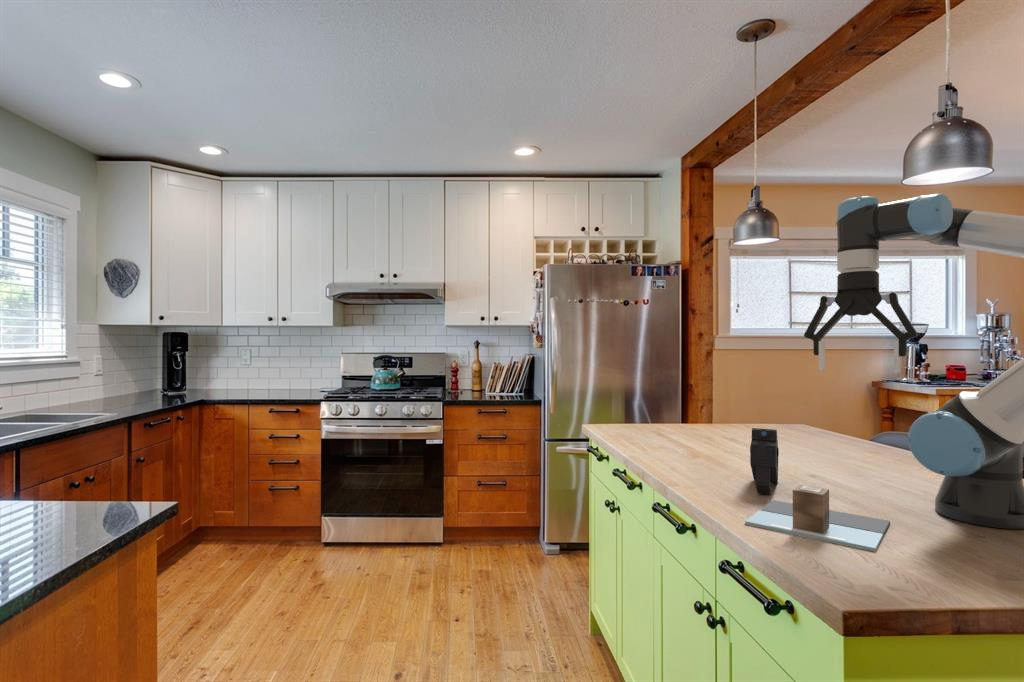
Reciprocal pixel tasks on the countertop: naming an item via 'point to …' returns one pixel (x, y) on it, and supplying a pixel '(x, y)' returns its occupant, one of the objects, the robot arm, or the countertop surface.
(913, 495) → the countertop surface
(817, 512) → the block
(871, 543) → the mat
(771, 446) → the tool
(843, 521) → the mat
